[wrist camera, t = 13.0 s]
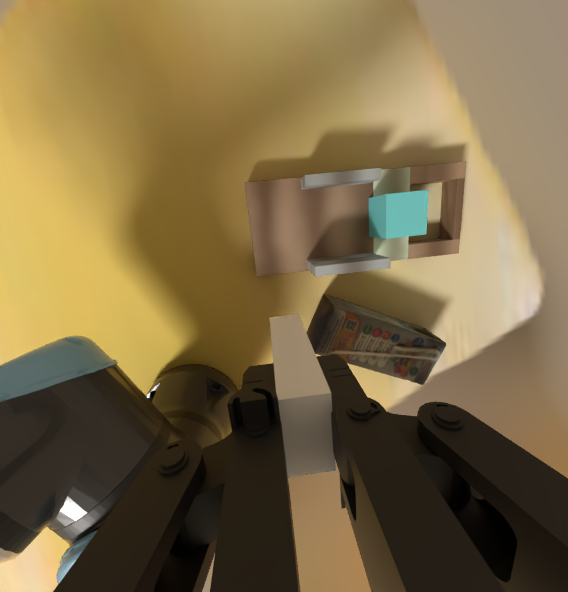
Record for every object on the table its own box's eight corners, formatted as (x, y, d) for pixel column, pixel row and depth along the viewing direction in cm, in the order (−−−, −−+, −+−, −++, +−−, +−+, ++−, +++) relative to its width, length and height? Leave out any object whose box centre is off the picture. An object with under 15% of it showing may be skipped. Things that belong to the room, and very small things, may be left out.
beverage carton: (404, 367, 46) (427, 391, 40) (302, 336, 43) (309, 356, 37) (425, 327, 44) (452, 344, 38) (320, 291, 41) (331, 304, 35)
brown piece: (257, 272, 39) (256, 286, 31) (245, 185, 36) (241, 173, 27) (444, 251, 41) (494, 258, 32) (450, 166, 38) (506, 149, 29)
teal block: (369, 236, 36) (386, 238, 31) (368, 198, 35) (386, 194, 30) (404, 232, 37) (426, 234, 32) (405, 194, 35) (428, 189, 30)
